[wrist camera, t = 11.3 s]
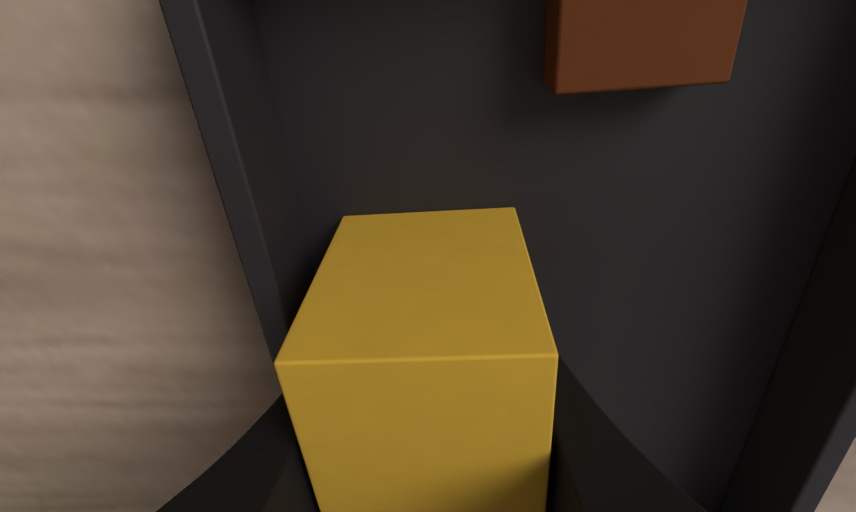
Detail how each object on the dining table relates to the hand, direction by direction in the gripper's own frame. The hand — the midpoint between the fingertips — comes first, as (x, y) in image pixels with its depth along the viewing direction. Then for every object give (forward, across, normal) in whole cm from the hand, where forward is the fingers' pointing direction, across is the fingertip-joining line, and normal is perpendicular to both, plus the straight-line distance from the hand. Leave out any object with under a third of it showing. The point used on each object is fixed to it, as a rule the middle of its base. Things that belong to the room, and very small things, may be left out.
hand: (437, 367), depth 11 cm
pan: (+2, -3, 0) cm, 4 cm away
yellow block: (+1, 0, 0) cm, 1 cm away
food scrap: (+1, -4, -8) cm, 9 cm away
